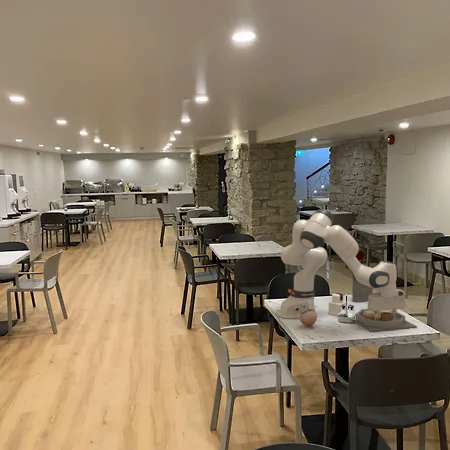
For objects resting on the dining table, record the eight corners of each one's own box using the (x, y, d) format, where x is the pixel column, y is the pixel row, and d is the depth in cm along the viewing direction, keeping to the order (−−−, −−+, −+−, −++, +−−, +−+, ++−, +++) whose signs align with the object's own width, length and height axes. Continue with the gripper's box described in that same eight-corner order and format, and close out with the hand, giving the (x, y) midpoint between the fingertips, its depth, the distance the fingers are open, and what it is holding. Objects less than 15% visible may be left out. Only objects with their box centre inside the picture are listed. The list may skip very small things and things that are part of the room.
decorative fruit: (308, 330, 229) (308, 311, 228) (296, 326, 236) (296, 308, 235) (320, 327, 235) (320, 308, 234) (309, 323, 241) (309, 304, 240)
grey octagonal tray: (370, 332, 226) (370, 320, 226) (346, 316, 251) (346, 306, 251) (416, 328, 232) (417, 316, 231) (388, 313, 257) (388, 302, 256)
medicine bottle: (335, 311, 261) (335, 291, 259) (346, 314, 256) (346, 293, 254) (328, 314, 256) (328, 293, 254) (339, 317, 251) (339, 296, 249)
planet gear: (383, 323, 232) (384, 315, 231) (377, 319, 238) (377, 312, 237) (394, 322, 233) (395, 314, 233) (388, 318, 239) (388, 311, 239)
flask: (357, 303, 277) (358, 271, 275) (350, 301, 282) (351, 269, 280) (375, 299, 284) (375, 268, 282) (368, 297, 289) (368, 267, 287)
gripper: (371, 294, 229) (371, 321, 230) (407, 292, 233) (407, 318, 234) (365, 291, 235) (364, 317, 236) (400, 289, 239) (399, 314, 240)
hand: (386, 317), depth 235 cm, fingers closed on planet gear, 6 cm apart
